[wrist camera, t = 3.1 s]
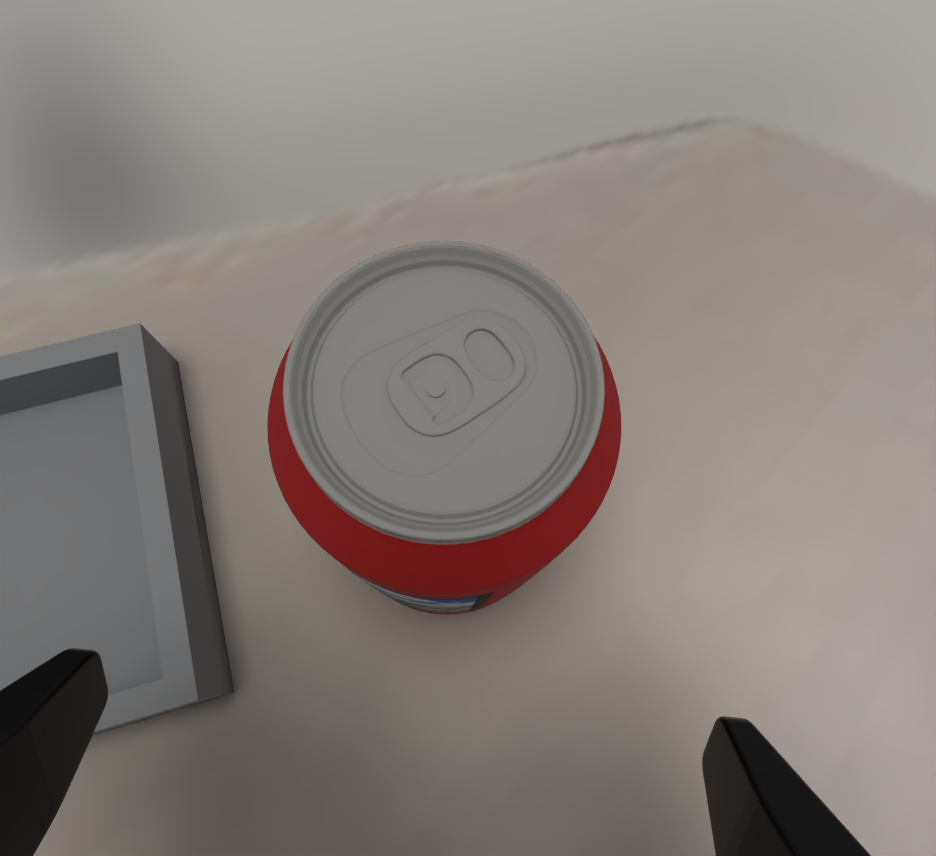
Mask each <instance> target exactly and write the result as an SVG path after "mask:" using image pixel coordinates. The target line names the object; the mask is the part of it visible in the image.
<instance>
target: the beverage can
mask: <svg viewBox="0 0 936 856" xmlns="http://www.w3.org/2000/svg"><path fill="white" fill-rule="evenodd" d="M620 441H621V412H620V404H619V398H618V393H617V388H616V384H615V381H614V378H613V375H612V372H611V369H610V366H609V364H608V361H607V359H606V357H605V355H604V353H603V351H602V349H601V347H600V345H599V343H598V342H597V340H596V339H595V337H594V336H593V334H592V331H591V329H590V327H589V325H588V323H587V321H586V319H585V318H584V316H583V315H582V313H581V312H580V311H579V309H578V308H577V306H576V305H575V304H574V302H573V301H572V299H571V298H570V297H569V296H568V295H567V294H566V293H565V292H564V291H563V290H562V289H561V288H560V287H559V286H558V285H557V284H556V283H555V282H554V281H553V280H552V279H550V278H549V277H548V276H546V275H545V274H544V273H542V272H541V271H540V270H538V269H537V268H535V267H534V266H532V265H530V264H529V263H527V262H525V261H523V260H521V259H519V258H517V257H515V256H513V255H511V254H508V253H505V252H503V251H500V250H497V249H494V248H490V247H487V246H483V245H478V244H473V243H465V242H455V241H432V242H423V243H416V244H410V245H405V246H401V247H398V248H394V249H391V250H388V251H385V252H382V253H380V254H378V255H375V256H373V257H371V258H369V259H367V260H365V261H363V262H361V263H359V264H358V265H356V266H355V267H353V268H351V269H350V270H348V271H347V272H346V273H344V274H343V275H342V276H340V277H339V278H337V279H336V280H335V281H334V282H333V283H332V284H331V285H330V286H329V287H328V288H327V289H326V290H325V291H324V292H323V293H322V294H321V295H320V296H319V297H318V298H317V300H316V301H315V302H314V303H313V305H312V306H311V308H310V309H309V310H308V312H307V313H306V315H305V316H304V318H303V320H302V321H301V323H300V325H299V327H298V329H297V331H296V334H295V336H294V338H293V340H292V342H291V344H290V345H289V347H288V349H287V351H286V353H285V355H284V357H283V359H282V361H281V364H280V366H279V369H278V372H277V375H276V377H275V380H274V384H273V388H272V393H271V397H270V403H269V410H268V444H269V451H270V457H271V462H272V466H273V470H274V473H275V476H276V479H277V482H278V485H279V487H280V490H281V492H282V494H283V496H284V499H285V501H286V502H287V504H288V506H289V508H290V509H291V511H292V513H293V514H294V516H295V517H296V519H297V520H298V522H299V523H300V524H301V526H302V527H303V528H304V529H305V530H306V532H307V533H308V534H309V535H310V536H311V538H312V539H314V540H315V541H316V542H317V543H318V544H319V545H320V546H321V547H322V548H323V549H324V550H325V551H326V552H328V553H329V554H330V555H331V556H332V557H334V558H335V559H336V560H337V561H339V562H340V563H341V564H343V565H344V566H345V567H346V568H348V569H349V570H350V571H351V572H353V573H354V574H355V575H356V576H358V577H359V578H361V579H362V580H364V581H365V582H367V583H368V584H370V585H371V586H373V587H374V588H376V589H377V590H379V591H380V592H382V593H383V594H385V595H386V596H388V597H390V598H392V599H394V600H396V601H397V602H399V603H401V604H404V605H406V606H408V607H410V608H414V609H417V610H420V611H424V612H428V613H436V614H458V613H465V612H470V611H474V610H477V609H480V608H483V607H486V606H488V605H490V604H492V603H494V602H496V601H498V600H500V599H501V598H503V597H505V596H506V595H508V594H509V593H511V592H512V591H514V590H515V589H517V588H518V587H520V586H521V585H522V584H524V583H525V582H526V581H528V580H529V579H530V578H531V577H533V576H534V575H535V574H536V573H538V572H539V571H540V570H541V569H543V568H544V567H545V566H546V565H548V564H549V563H550V562H551V561H552V560H553V559H554V558H555V557H557V556H558V555H559V554H560V553H561V552H562V551H563V550H564V549H565V548H566V547H568V546H569V545H570V544H571V543H572V542H573V541H574V540H575V539H576V538H577V537H578V535H579V534H580V533H581V532H582V531H583V530H584V528H585V527H586V526H587V525H588V523H589V522H590V520H591V519H592V518H593V516H594V515H595V513H596V512H597V510H598V508H599V507H600V505H601V503H602V501H603V499H604V497H605V495H606V493H607V491H608V489H609V486H610V484H611V481H612V478H613V475H614V472H615V468H616V464H617V460H618V455H619V449H620Z"/></svg>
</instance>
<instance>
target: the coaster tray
mask: <svg viewBox="0 0 936 856" xmlns="http://www.w3.org/2000/svg"><path fill="white" fill-rule="evenodd" d="M70 648H78V649H87V650H94V651H97V652H98V653H99V654H100V657H101V660H102V664H103V669H104V673H105V677H106V681H107V685H108V699H107V703H106V706H105V709H104V711H103V713H102V715H101V717H100V720H99V722H98V724H97V726H96V729H95V731H94V733H93V735H94V734H97V733H100V732H103V731H107V730H110V729H113V728H117V727H120V726H123V725H126V724H130V723H133V722H136V721H140V720H143V719H146V718H149V717H153V716H156V715H159V714H163V713H166V712H169V711H172V710H176V709H179V708H182V707H186V706H189V705H192V704H195V703H199V702H202V701H205V700H209V699H212V698H215V697H218V696H222V695H225V694H228V693H231V692H234V691H233V685H232V679H231V673H230V667H229V661H228V655H227V649H226V644H225V638H224V632H223V626H222V620H221V614H220V608H219V602H218V597H217V591H216V585H215V579H214V573H213V567H212V561H211V555H210V550H209V544H208V538H207V532H206V526H205V520H204V514H203V508H202V503H201V497H200V491H199V485H198V479H197V473H196V467H195V461H194V456H193V450H192V444H191V438H190V432H189V426H188V420H187V415H186V409H185V403H184V397H183V391H182V385H181V379H180V373H179V368H178V362H177V361H176V360H175V359H174V358H173V357H172V356H171V355H170V354H169V353H168V352H167V350H166V349H165V348H164V347H163V346H162V345H161V344H160V343H159V342H158V341H157V340H156V339H155V338H154V337H153V336H152V335H151V334H150V333H149V332H148V331H147V330H146V329H145V328H144V327H143V326H142V325H141V324H135V325H131V326H127V327H123V328H119V329H114V330H110V331H106V332H102V333H98V334H93V335H89V336H85V337H81V338H77V339H72V340H68V341H64V342H60V343H56V344H51V345H47V346H43V347H39V348H35V349H30V350H26V351H22V352H18V353H14V354H9V355H5V356H1V357H0V690H2V689H3V688H5V687H6V686H8V685H10V684H11V683H13V682H14V681H16V680H18V679H19V678H21V677H22V676H24V675H25V674H27V673H29V672H30V671H32V670H33V669H35V668H37V667H38V666H40V665H41V664H43V663H44V662H46V661H48V660H49V659H51V658H52V657H54V656H55V655H57V654H59V653H60V652H62V651H64V650H66V649H70Z"/></svg>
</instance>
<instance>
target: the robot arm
mask: <svg viewBox="0 0 936 856" xmlns="http://www.w3.org/2000/svg"><path fill="white" fill-rule="evenodd" d="M107 699H108V685H107V681H106V677H105V673H104V669H103V664H102V660H101V657H100V654H99V653H98V652H97V651H94V650H87V649H78V648H70V649H66V650H64V651H62V652H60V653H59V654H57V655H55V656H54V657H52V658H51V659H49V660H48V661H46V662H44V663H43V664H41V665H40V666H38V667H37V668H35V669H33V670H32V671H30V672H29V673H27V674H25V675H24V676H22V677H21V678H19V679H18V680H16V681H14V682H13V683H11V684H10V685H8V686H6V687H5V688H3V689H2V690H0V856H33V855H34V853H35V852H36V850H37V848H38V846H39V845H40V843H41V841H42V839H43V838H44V836H45V834H46V832H47V831H48V829H49V827H50V825H51V823H52V821H53V819H54V818H55V816H56V814H57V812H58V810H59V808H60V806H61V804H62V802H63V799H64V797H65V795H66V793H67V791H68V789H69V786H70V784H71V782H72V780H73V777H74V775H75V773H76V771H77V769H78V766H79V764H80V762H81V760H82V757H83V755H84V753H85V751H86V749H87V746H88V744H89V742H90V740H91V737H92V735H93V733H94V731H95V729H96V726H97V724H98V722H99V720H100V717H101V715H102V713H103V711H104V709H105V706H106V703H107ZM702 766H703V775H704V781H705V788H706V794H707V801H708V807H709V814H710V820H711V827H712V833H713V840H714V846H715V853H716V856H871V855H870V854H869V853H868V852H867V851H866V850H865V849H864V847H863V846H862V845H861V844H860V843H859V842H858V841H857V840H856V839H855V837H854V836H853V835H852V834H851V833H850V832H849V831H848V830H847V829H846V827H845V826H844V825H843V824H842V823H841V822H840V821H839V820H838V819H837V817H836V816H835V815H834V814H833V813H832V812H831V811H830V810H829V808H828V807H827V806H826V805H825V804H824V803H823V802H822V801H821V800H820V798H819V797H818V796H817V795H816V794H815V793H814V792H813V791H812V790H811V788H810V787H809V786H808V785H807V784H806V783H805V782H804V781H803V780H802V778H801V777H800V776H799V775H798V774H797V773H796V772H795V771H794V769H793V768H792V767H791V766H790V765H789V764H788V763H787V762H786V761H785V759H784V758H783V757H782V756H781V755H780V754H779V753H778V752H777V751H776V749H775V748H774V747H773V746H772V745H771V744H770V743H769V742H768V740H767V739H766V738H765V737H764V736H763V735H762V734H761V733H760V732H759V730H758V729H757V728H756V727H755V726H754V725H753V724H752V723H751V722H749V721H748V720H746V719H743V718H734V717H724V716H723V717H719V718H718V719H717V720H716V722H715V724H714V726H713V729H712V732H711V734H710V737H709V739H708V742H707V745H706V747H705V750H704V753H703V760H702Z"/></svg>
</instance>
